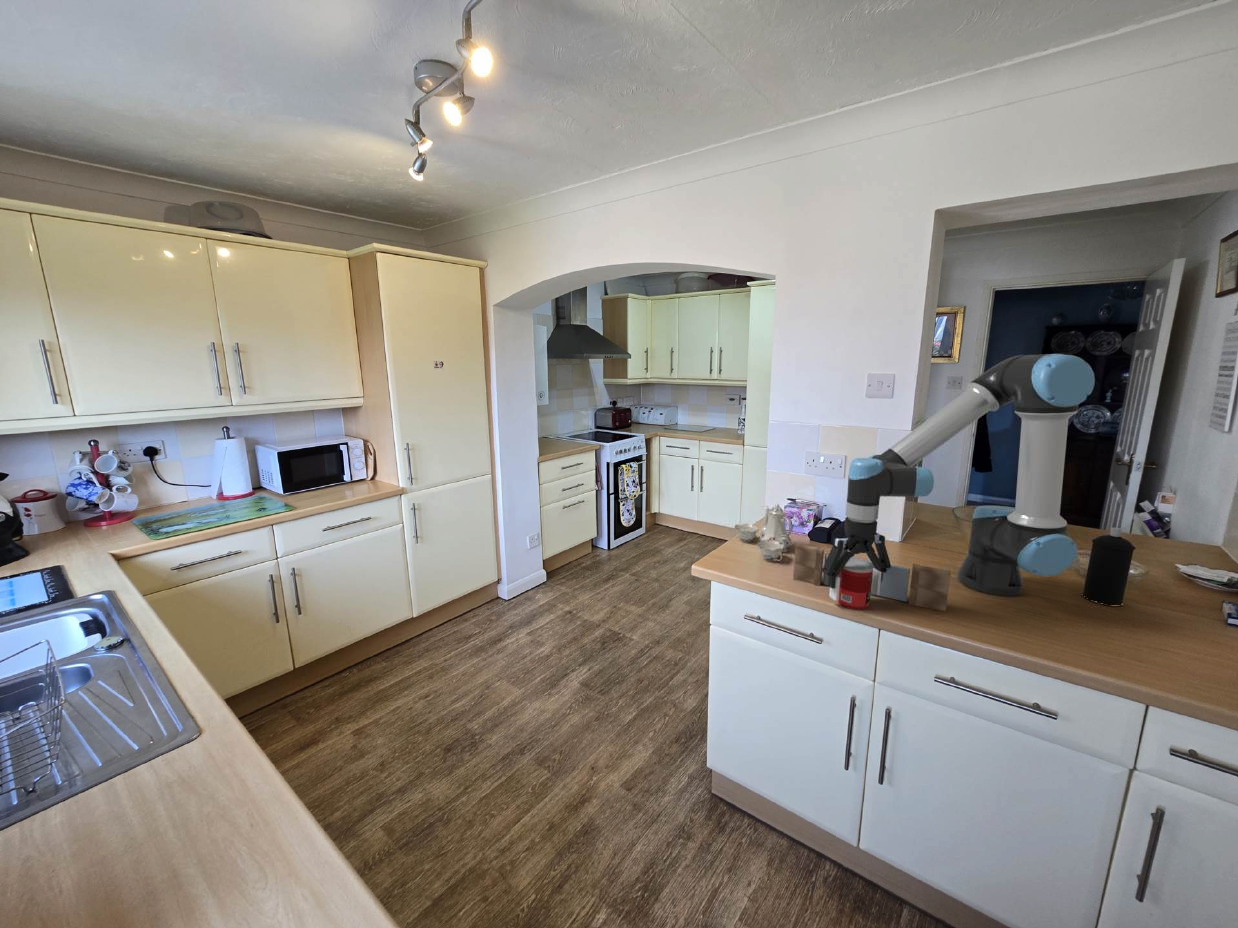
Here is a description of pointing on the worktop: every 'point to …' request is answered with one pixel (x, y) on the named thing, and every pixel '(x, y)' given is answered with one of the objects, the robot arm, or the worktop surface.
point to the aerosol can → (1108, 568)
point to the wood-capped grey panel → (924, 588)
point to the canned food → (855, 584)
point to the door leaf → (888, 581)
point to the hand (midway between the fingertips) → (854, 595)
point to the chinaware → (769, 533)
